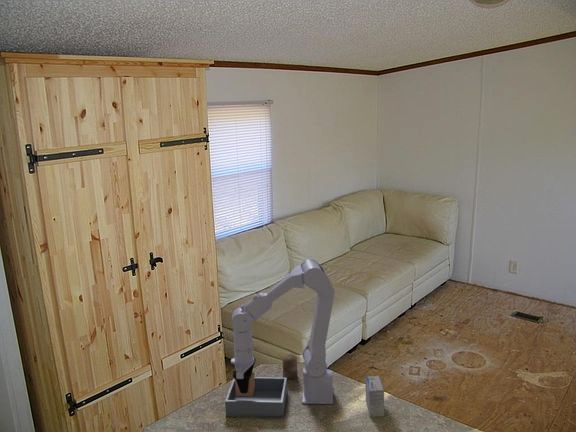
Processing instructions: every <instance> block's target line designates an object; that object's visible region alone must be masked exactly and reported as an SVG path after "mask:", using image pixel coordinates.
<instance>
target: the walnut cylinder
mask: <svg viewBox="0 0 576 432" xmlns="http://www.w3.org/2000/svg"><path fill="white" fill-rule="evenodd" d="M281 363H282V378H287V382H291V380H292V381H294V380H297V379H298V357H297V355H296V354H291V353H290V354H289V353H288V354H284V355H283V356H282V358H281Z"/></svg>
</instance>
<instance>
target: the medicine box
mask: <svg viewBox="0 0 576 432" xmlns="http://www.w3.org/2000/svg"><path fill="white" fill-rule="evenodd" d="M365 403H366V407H367V411H368V414H369V417H370V418H373V417H374V418H375V417H377V418H379V417H385V389H384V386H383V382H382V380H381V377H380V376H378V375H375V376H374V375H371V376H370V375H369V376H365Z"/></svg>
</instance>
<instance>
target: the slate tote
mask: <svg viewBox="0 0 576 432" xmlns="http://www.w3.org/2000/svg"><path fill="white" fill-rule="evenodd" d="M254 378H255V389H254V392H253V395H252V396H236V388H235V379H234V378H233V379H232V381H231V384H230V387H229V390H228V392H227V395H226V397H225V399H224V400H225V401H224V406H225V407H224V408H225V417H244V418H245V417H246V418H248V417H249V418H282V419H283V418H284V414H285V408H286V403H287V397H288V380H287V378H283V377H273V376H272V377H271V376H270V377H269V376H265V377H264V376H263V377H262V376H258V377H257V376H254Z"/></svg>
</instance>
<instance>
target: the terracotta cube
mask: <svg viewBox="0 0 576 432" xmlns="http://www.w3.org/2000/svg"><path fill="white" fill-rule="evenodd" d="M254 377H255V372H252V374H251V377H250V379H249V386H248V392H247V393H240V390H239V387H238V384H237V382H236V380H235V388H236V396H252V395H253V392H254V389H255V378H254Z"/></svg>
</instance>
